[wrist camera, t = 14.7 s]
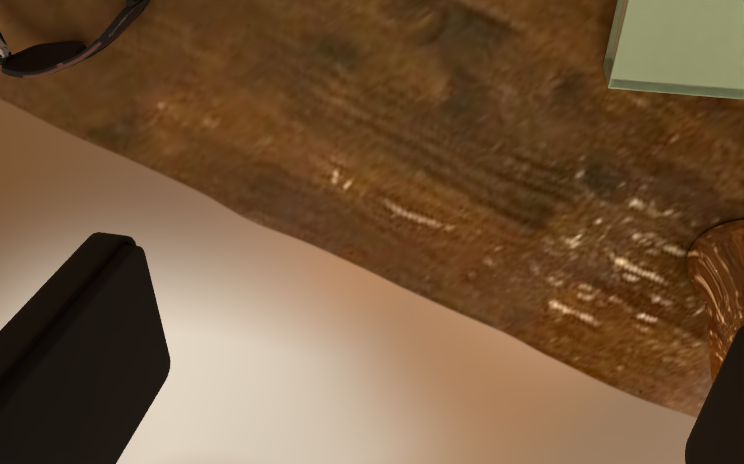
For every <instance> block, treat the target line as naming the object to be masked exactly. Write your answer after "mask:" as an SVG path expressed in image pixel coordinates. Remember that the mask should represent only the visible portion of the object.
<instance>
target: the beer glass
mask: <svg viewBox="0 0 744 464" xmlns="http://www.w3.org/2000/svg"><path fill="white" fill-rule="evenodd" d="M686 272H687V275H688V277H689V279H690V281H691V283H692V284H693V286H694V287H695V289H696V290H697V291H698V293H699V294H700V296H701V297H702V299H703V301H704V304H705V308H706V312H707V323H708V347H709V362H710V370H711V378H712V384H713V383H714V381H715V379H716V376H717V374H718V372H719V370H720V368H721V365H722V363H723V361H724V359H725V357H726V354H727V352H728V350H729V348H730V346H731V343H732V341H733V339H734V337H735V335H736V333H737V331H738V329H739V328H740V327H741V326H744V219H743V220H735V221H730V222H726V223H723V224H720V225H718V226H715V227H713V228H711V229H710V230H708V231H706V232H705V233H704V234H702V235H701V236H700V237H699V238H698V239H697V240H696V241H695V242H694V243H693V245H692V246H691V248H690V249H689V251H688V254H687V257H686Z"/></svg>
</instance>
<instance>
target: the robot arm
mask: <svg viewBox="0 0 744 464" xmlns="http://www.w3.org/2000/svg"><path fill="white" fill-rule="evenodd" d="M169 369H170V356H169V352H168V348H167V344H166V339H165V336H164V331H163V327H162V323H161V319H160V314H159V310H158V306H157V302H156V298H155V294H154V289H153V285H152V281H151V277H150V273H149V269H148V265H147V260H146V256H145V253H144V250H143V249H142V248H141V247H139V246H136V243H135V241H134V240H133V238H131V237H129V236H123V235H116V234H108V233H101V232H98V233H94V234H92V235H91V236H90V237H89V238H88V239H87V240H86V241H85V242H84V243H83V244H82V245H81V246H80V247H79V248H78V249H77V250H76V251H75V252H74V253H73V254H72V256H71V257H70V258H69V259H68V260H67V261H66V262H65V263H64V264H63V265H62V266H61V267H60V268H59V269H58V271H57V272H55V274H54V275H53V276H52V277H51V278H50V279H49V280H48V281H47V282H46V283H45V284H44V285H43V286H42V287H41V288H40V289H39V291H37V293H36V294H35V295H34V296H33V297H32V298H31V299H30V300H29V301H28V302H27V303H26V304H25V305H24V307H22V308H21V309H20V311H19V312H18V313H17V314H16V315H15V316H14V317H13V318H12V319H11V320H10V321H9V322H8V323H7V324H6V325H5V326H4V327H3V328H2V329H1V331H0V464H116V463H117V461H118V459H119V457H120V456H121V454H122V453H123V450H124V449H125V448H126V446H127V444H128V443H129V441H130V439H131V437H132V436H133V434H134V432H135V431H136V429H137V427H138V426H139V424H140V422H141V421H142V419H143V417H144V416H145V414H146V412H147V411H148V409H149V407H150V406H151V404H152V402H153V401H154V399H155V397H156V396H157V394H158V392H159V391H160V389H161V387H162V385H163V384H164V382H165V380H166V378H167V376H168V373H169ZM685 462H686V464H744V326H741V327H740V328H739V329H738V331H737V333H736V335H735V337H734V339H733V341H732V343H731V346H730V348H729V350H728V352H727V354H726V357H725V359H724V361H723V363H722V365H721V368H720V370H719V372H718V374H717V376H716V379H715V381H714V383H713V385H712V387H711V390H710V392H709V394H708V396H707V398H706V401H705V403H704V405H703V407H702V409H701V412H700V414H699V416H698V418H697V420H696V423H695V425H694V427H693V429H692V431H691V434H690V436H689V438H688V441H687V444H686V449H685Z"/></svg>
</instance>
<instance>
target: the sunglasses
mask: <svg viewBox="0 0 744 464" xmlns="http://www.w3.org/2000/svg"><path fill="white" fill-rule="evenodd" d="M149 2H150V0H126V5H127V7H126V8H124V9H123V10H122V11H121V12H120V13H119V15H118V16H117V17H116V18H115V20H114V21H113V22H112V23H111V25H110V26H109V27H108V28H107V29H106V31H105V32H104V33H103V34H102V35H101V36H100V37H99V38H98V39H97V40H96V41H95V42H93V43H92V44H91V45H90V46H89V47H88V48H87V47H86V46H85V44H84V43H83V42H81V41H68V42H57V43H46V44H39V45H35V46H32V47H29V48H27V49H25V50H23V51H21V52H18V53H16V54H14V55H10V54H11V52H10V48H9V47H8V46H7V44H6V42H5V40H4V39H3V37H2V35H1V33H0V65H2V72H3V73H4V74H6V75H9V76H14V77H20V78H34V77H41V76H45V75H49V74H52V73H55V72H58V71H60V70H63V69H65V68H68V67H70V66H73V65H75V64H77V63H79V62H81V61H83V60H85V59H87V58H89V57H91V56H93V55H95V54H96V53H98V52H100V51H101V50H102V49H104V48H105V47H107V46H108V45H109V44H110V43H112V42H113V41H114V40H115V39H116V38H117V37H118V36H119V35H120V34H121V33H122V32H123V31H124V30H125V29H126V28H127V27H128V26H129V25H130V24H131V23H132V22H133V21H134V20H135V19H136V18H137V17H138V16H139V15H140V14H141V13H142V12H143V11H144V9H145V8H146V7H147V5H148V4H149ZM8 55H9V56H8ZM1 57H2V58H1Z"/></svg>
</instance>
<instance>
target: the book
mask: <svg viewBox="0 0 744 464" xmlns="http://www.w3.org/2000/svg"><path fill="white" fill-rule="evenodd" d="M603 69H604V72H605V76H606V80H607V84H608V88H611V89H624V90H636V91H648V92H660V93H672V94H685V95H697V96H709V97H721V98H733V99H744V0H617V5H616V9H615V14H614V18H613V23H612V27H611V32H610V36H609V41H608V45H607V50H606V54H605V59H604V63H603Z"/></svg>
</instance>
